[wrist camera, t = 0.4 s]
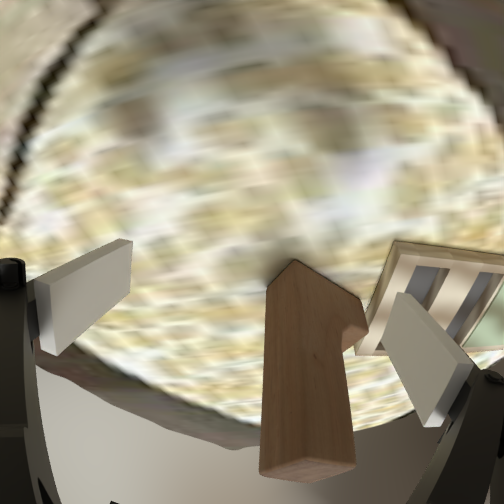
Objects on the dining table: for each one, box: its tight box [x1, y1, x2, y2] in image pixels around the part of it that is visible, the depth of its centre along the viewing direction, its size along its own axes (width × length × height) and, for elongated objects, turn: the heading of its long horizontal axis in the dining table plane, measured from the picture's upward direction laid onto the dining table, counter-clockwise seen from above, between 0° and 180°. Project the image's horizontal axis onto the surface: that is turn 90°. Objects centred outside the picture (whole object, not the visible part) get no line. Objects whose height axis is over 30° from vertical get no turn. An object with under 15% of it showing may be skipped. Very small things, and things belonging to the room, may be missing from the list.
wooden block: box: [259, 260, 369, 483], centre depth 24 cm, size 9×4×18 cm, turn 56°
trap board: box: [354, 241, 504, 356], centre depth 30 cm, size 14×24×2 cm, turn 86°
